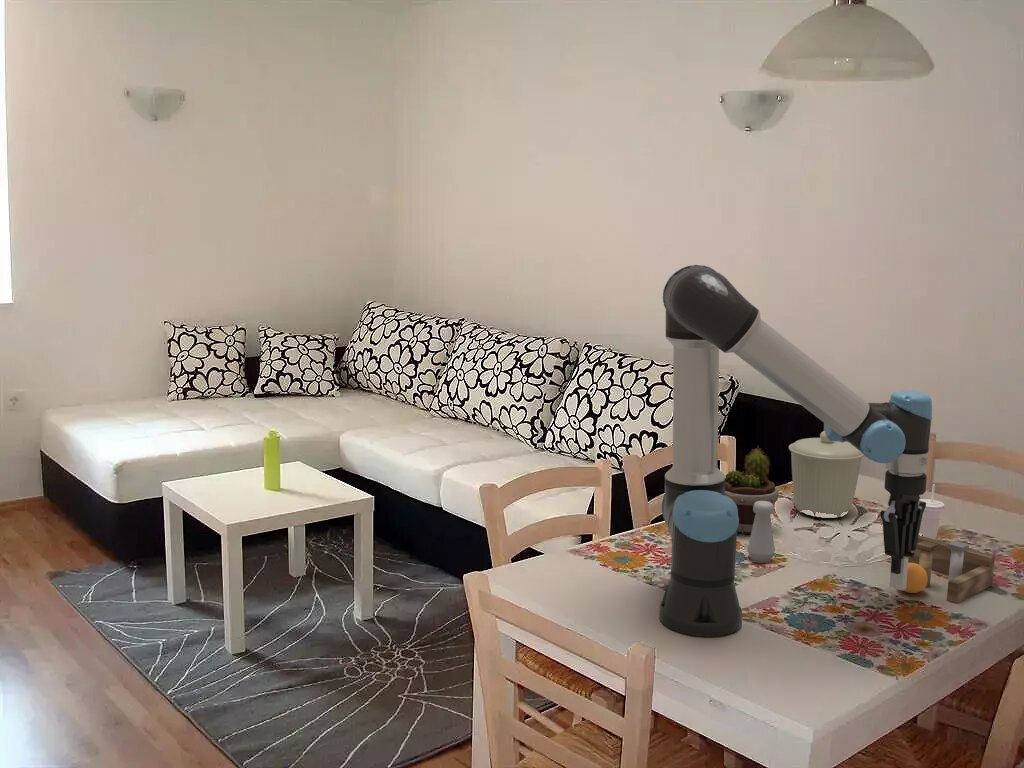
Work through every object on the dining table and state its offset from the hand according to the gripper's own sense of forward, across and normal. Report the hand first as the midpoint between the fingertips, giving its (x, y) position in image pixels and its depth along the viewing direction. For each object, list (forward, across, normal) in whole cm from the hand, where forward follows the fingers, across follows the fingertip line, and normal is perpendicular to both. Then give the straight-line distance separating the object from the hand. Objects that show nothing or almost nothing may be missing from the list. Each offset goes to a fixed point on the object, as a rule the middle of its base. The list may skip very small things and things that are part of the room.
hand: (897, 587), depth 206 cm
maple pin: (+3, +11, +1) cm, 11 cm away
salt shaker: (+2, -3, +30) cm, 31 cm away
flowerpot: (+2, +11, +46) cm, 47 cm away
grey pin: (+3, +16, -3) cm, 17 cm away
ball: (-1, +6, 0) cm, 6 cm away
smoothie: (+3, +36, +14) cm, 39 cm away
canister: (+3, +37, +42) cm, 56 cm away
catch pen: (+3, +15, +1) cm, 15 cm away
